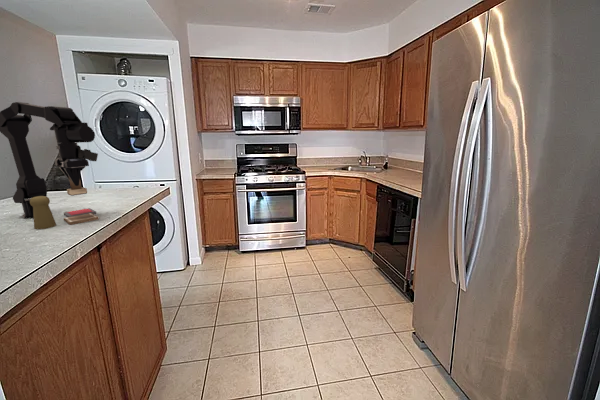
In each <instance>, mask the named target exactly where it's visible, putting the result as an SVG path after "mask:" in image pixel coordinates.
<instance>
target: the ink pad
mask: <svg viewBox="0 0 600 400" xmlns="http://www.w3.org/2000/svg"><path fill="white" fill-rule="evenodd" d="M89 213H92V214H94V215H97V214H98V213H97V211H96V210H95V209H93V208H90V207H88V208H83V209H78V210H77V209H76V210H71V211H66V212H63V215H64V216H65V218H67V217H73V216H78V215H84V214H89Z"/></svg>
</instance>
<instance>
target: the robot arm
mask: <svg viewBox="0 0 600 400" xmlns="http://www.w3.org/2000/svg"><path fill="white" fill-rule="evenodd" d="M22 114H23V115H22ZM32 116H33V117H39V118H43V119H45V120H46V121H47V122H49V123H52V124H53V125H52V126H51V127H49V130H50V131H54V136H55V140H56V144H57V145H56V146H55V147H56V150H58V154H59V157H56V159H54V165H55V166H58V168H59V169H60V171H61V172H62V173H63V175H64V176H65V177H66V178H67V180H68V181H69V177H70V179H71V180H72V182H73V183H74V185H75V186H79V180H80V181H81V173H82V171H83V170H84V169H86V167H89V166H90V165H89V161H91V162H97V161H98V157H99V153H97V152H92V151H91V149H87V148H84V149H81V148H82V147H81V146H80V145H78V143H91V142H93V141H94V140H95V138H96V133H95V132H94V130H93V128H92V127H90V126H88V122H83V121H82V120H81V119H80V118H79V116H78V115H77V114H76V113H75V112H74V109H72V108H71V107H67V106H66V107H65V106H64V107H63V106H54V105H53V106H52V105H51V106H49V105H48V106H44V105H43V106H42V105H37V104H31V103H29V102H20V101H14V102H12V103H11V104H10V106H8V107H6V108H4V109H3V110H0V133H1V135H3V136H4V137H6V138H7V140H8V142H9V146H10V150H11V153H12V156H13V159H14V162H15V166H16V170H17V173H18V178H17V180H16V183H15V186H16V191H15V193H14V195H13V196H12V200H13V201H14V202H13V203H15V204H21V206H22V210H23V214H22V217H23V218H24V219H30V218H34V215H33V206H31V204H30V199H31V198H33V197H37V196H46V197H48V196H47V195H48V186H47V184H46V180H45V178H43V177H40V176H39V175H38V174H37V173H36V169H35V166H34V162H33V161H34V160H33V158H32V155H31V151H30V147H29V145H28V141H27V136H28V134H29V132H30V128H29V125H30V124H31V123H32V121H33V119H32Z"/></svg>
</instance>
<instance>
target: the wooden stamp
mask: <svg viewBox="0 0 600 400" xmlns="http://www.w3.org/2000/svg"><path fill="white" fill-rule="evenodd" d="M68 181H69V185H70V188H67V189H66V192H67V194H68V195H69V196H70V197H73V196H74V197H75V196H80V195H87V194H88V189H87V188H86V187H83V186H82V182H81V179H80V180H79V186H75V185H74V183H73V182H72V180H71V179H70V177H69V180H68Z"/></svg>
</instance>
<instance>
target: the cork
mask: <svg viewBox="0 0 600 400" xmlns="http://www.w3.org/2000/svg"><path fill="white" fill-rule="evenodd" d="M50 201H51V200H50V198H49V197H48V196H47V197H46V196H37V197H33V198H31V199H30V204H31V206H33V215H34V217H33V228H34V230H45V229H51V228H54V227H56V226H57V223H56V220H55V217H54V215H53V213H52V210H51V208H50V203H51V202H50Z"/></svg>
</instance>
